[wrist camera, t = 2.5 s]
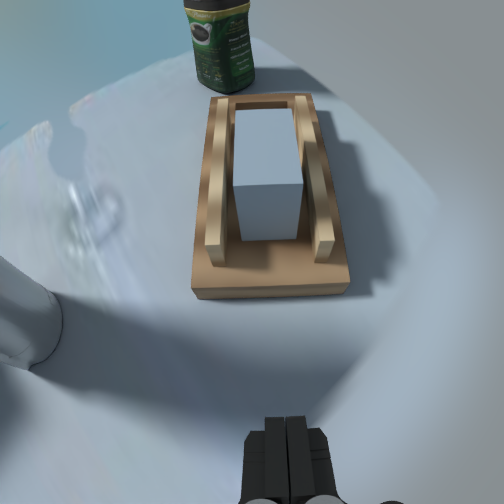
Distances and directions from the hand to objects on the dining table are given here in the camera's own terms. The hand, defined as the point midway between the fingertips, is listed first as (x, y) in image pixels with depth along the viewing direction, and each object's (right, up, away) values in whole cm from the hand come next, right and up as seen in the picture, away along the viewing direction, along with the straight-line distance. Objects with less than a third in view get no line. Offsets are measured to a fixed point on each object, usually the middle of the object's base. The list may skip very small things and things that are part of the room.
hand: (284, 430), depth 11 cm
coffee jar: (-5, +35, +37) cm, 51 cm away
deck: (0, +15, +26) cm, 30 cm away
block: (0, +12, +21) cm, 24 cm away
